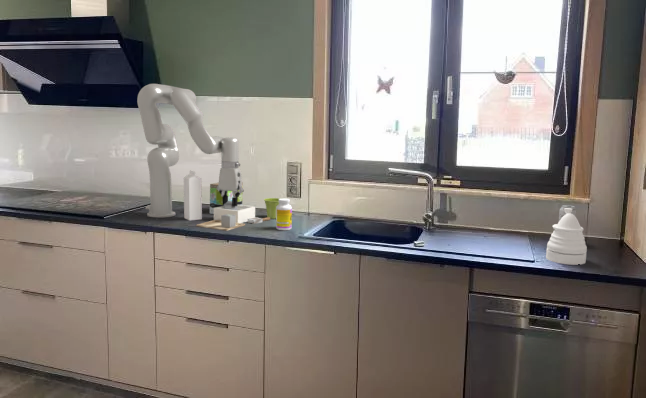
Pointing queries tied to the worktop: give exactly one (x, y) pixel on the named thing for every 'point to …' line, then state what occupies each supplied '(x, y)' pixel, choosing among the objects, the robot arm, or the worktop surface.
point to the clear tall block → (562, 211)
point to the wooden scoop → (257, 220)
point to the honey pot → (567, 241)
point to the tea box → (220, 197)
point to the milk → (192, 197)
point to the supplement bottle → (284, 215)
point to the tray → (218, 225)
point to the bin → (236, 213)
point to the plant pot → (271, 207)
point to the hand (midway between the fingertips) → (230, 205)
